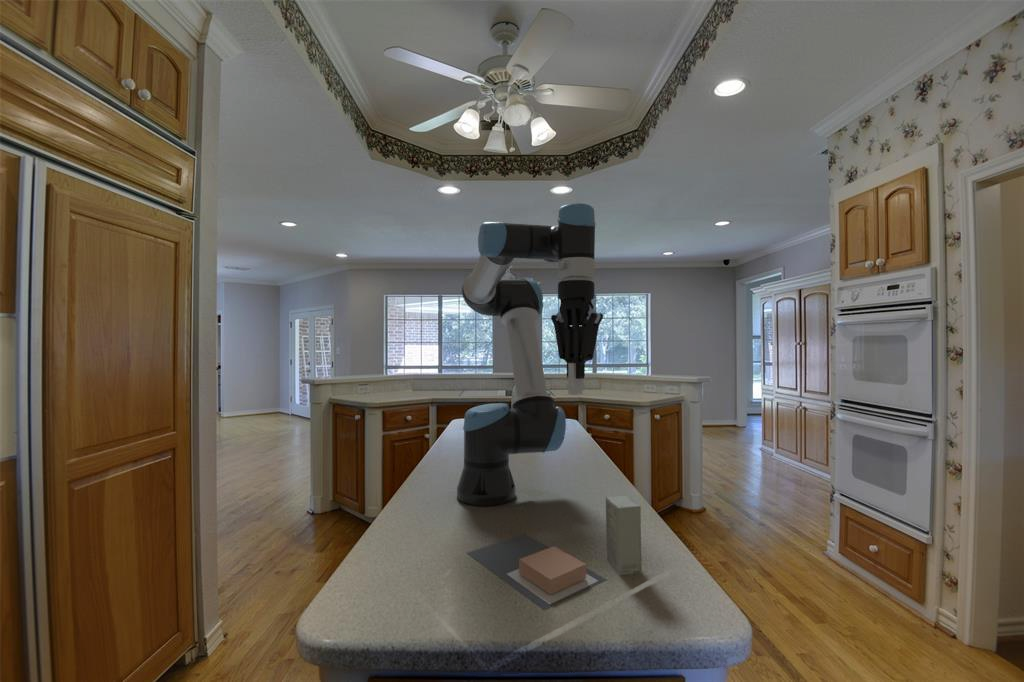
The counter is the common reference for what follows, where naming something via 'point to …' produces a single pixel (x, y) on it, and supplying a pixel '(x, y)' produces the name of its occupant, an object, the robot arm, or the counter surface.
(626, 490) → the counter surface
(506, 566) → the mat
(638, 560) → the skincare box
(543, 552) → the tile
